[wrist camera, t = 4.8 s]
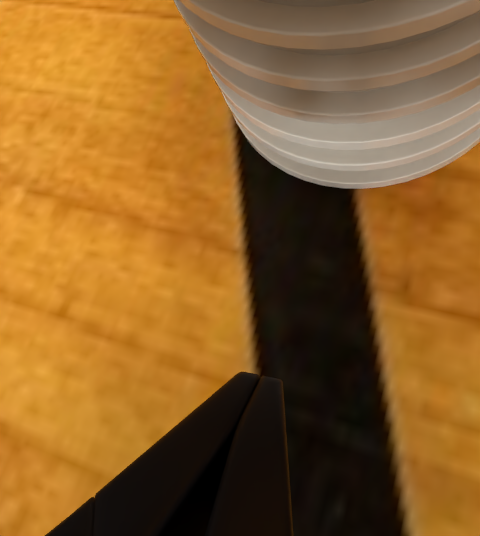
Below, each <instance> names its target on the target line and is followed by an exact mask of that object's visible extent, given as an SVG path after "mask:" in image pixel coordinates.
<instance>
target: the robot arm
mask: <svg viewBox="0 0 480 536" xmlns="http://www.w3.org/2000/svg"><path fill="white" fill-rule="evenodd" d="M45 536H293V524H292V510H291V496H290V481H289V467H288V453H287V439H286V424H285V410H284V396H283V383H282V380H281V379H278V378H272V377H267V376H263V377H260V376H259V375H257V374H252V373H247V372H240V373H238V374H236V375H235V376H234V377H233V378H232V379H231V380H229V381H228V382H227V383H226V384H225V385H223V386H222V387H221V388H220V389H219V390H218V391H216V392H215V393H214V394H213V395H212V396H211V397H209V398H208V399H207V400H206V401H205V402H203V403H202V404H201V405H200V406H199V407H198V408H196V409H195V410H194V411H193V412H192V413H190V414H189V415H188V416H187V417H186V418H185V419H183V420H182V421H181V422H180V423H179V424H178V425H176V426H175V427H174V428H173V429H172V430H170V431H169V432H168V433H167V434H166V435H165V436H163V437H162V438H161V439H160V440H159V441H157V442H156V443H155V444H154V445H153V446H152V447H150V448H149V449H148V450H147V451H146V452H145V453H143V454H142V455H141V456H140V457H139V458H137V459H136V460H135V461H134V462H133V463H132V464H130V465H129V466H128V467H127V468H126V469H124V470H123V471H122V472H121V473H120V474H119V475H117V476H116V477H115V478H114V479H113V480H112V481H110V482H109V483H108V484H107V485H106V486H104V487H103V488H102V489H101V490H100V491H99V492H97V493H96V495H95V498H94V497H91V498H90V499H89V500H88V501H86V502H85V503H84V504H83V505H82V506H81V507H79V508H78V509H77V510H76V511H75V512H74V513H72V514H71V515H70V516H69V517H67V518H66V519H65V520H64V521H62V522H61V523H60V524H59V525H58V526H56V527H55V528H54V529H53V530H51V531H50V532H49V533H48V534H46V535H45Z"/></svg>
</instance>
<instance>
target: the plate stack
mask: <svg viewBox="0 0 480 536" xmlns="http://www.w3.org/2000/svg"><path fill="white" fill-rule="evenodd" d="M174 2H175V5H176V7H177V9H178V11H179V13H180V15H181V17H182V19H183V20H184V22H185V23H186V25H187V26H188V28H189V30H190V32H191V34H192V37H193V39H194V41H195V43H196V45H197V47H198V49H199V51H200V53H201V55H202V57H203V58H204V59H205V61H206V63H207V65H208V67H209V70H210V72H211V74H212V76H213V78H214V80H215V82H216V84H217V85H218V87H219V88H220V90H221V92H222V94H223V97H224V99H225V101H226V103H227V105H228V107H229V109H230V110H231V112H232V113H233V116H234V118H235V120H236V122H237V124H238V126H239V128H240V130H241V131H242V133H243V134H244V136H245V137H246V139H247V140H248V142H249V143H250V144H251V145H252V146H253V147H254V148H255V149H256V151H257V152H258V153H259V154H260V155H262V156H263V157H264V158H265V159H266V160H268V161H269V162H270V163H271V164H273V165H274V166H276V167H278V168H279V169H281V170H283V171H284V172H286V173H288V174H290V175H293V176H295V177H297V178H300V179H302V180H305V181H308V182H312V183H316V184H319V185H323V186H330V187H337V188H354V189H365V188H375V187H385V186H389V185H394V184H398V183H403V182H407V181H410V180H413V179H416V178H419V177H422V176H425V175H427V174H429V173H431V172H434V171H436V170H438V169H440V168H442V167H444V166H446V165H448V164H449V163H451V162H453V161H454V160H456V159H457V158H459V157H461V156H462V155H464V154H465V153H467V152H468V151H469V150H470V149H472V148H473V147H474V146H475V145H477V144H478V143H479V142H480V0H174Z"/></svg>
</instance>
